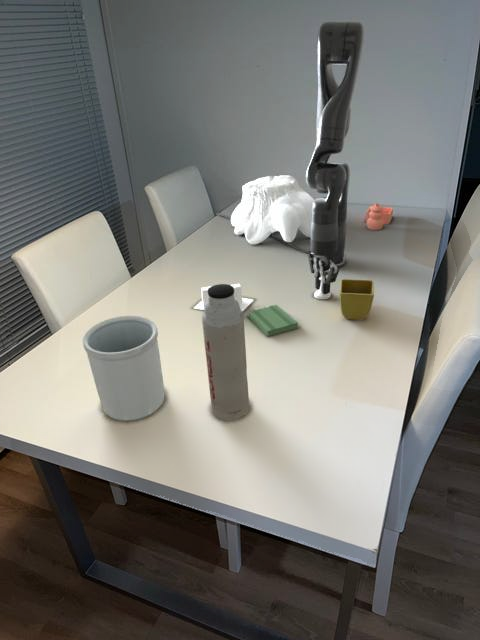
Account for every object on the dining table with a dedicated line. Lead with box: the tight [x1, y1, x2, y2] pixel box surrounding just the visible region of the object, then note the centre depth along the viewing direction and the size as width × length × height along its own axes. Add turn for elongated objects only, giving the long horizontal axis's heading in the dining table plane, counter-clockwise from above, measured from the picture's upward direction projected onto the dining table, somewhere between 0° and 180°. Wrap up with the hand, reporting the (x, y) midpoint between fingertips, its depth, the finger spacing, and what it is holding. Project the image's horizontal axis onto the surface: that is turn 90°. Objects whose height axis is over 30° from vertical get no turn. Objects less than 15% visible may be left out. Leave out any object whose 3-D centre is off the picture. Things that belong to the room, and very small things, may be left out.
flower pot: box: [339, 278, 375, 321], centre depth 132 cm, size 9×9×9 cm
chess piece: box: [313, 271, 332, 300], centre depth 144 cm, size 5×5×10 cm
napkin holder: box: [193, 283, 254, 313], centre depth 144 cm, size 15×11×6 cm
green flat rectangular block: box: [247, 304, 299, 337], centre depth 134 cm, size 12×9×2 cm
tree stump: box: [230, 174, 315, 245], centre depth 197 cm, size 40×37×23 cm
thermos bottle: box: [201, 283, 250, 421], centre depth 97 cm, size 8×8×28 cm
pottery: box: [365, 202, 394, 231], centre depth 199 cm, size 18×10×10 cm, turn 157°
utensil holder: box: [82, 315, 165, 422], centre depth 103 cm, size 15×15×18 cm
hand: (322, 290), depth 146 cm, fingers open, 3 cm apart
